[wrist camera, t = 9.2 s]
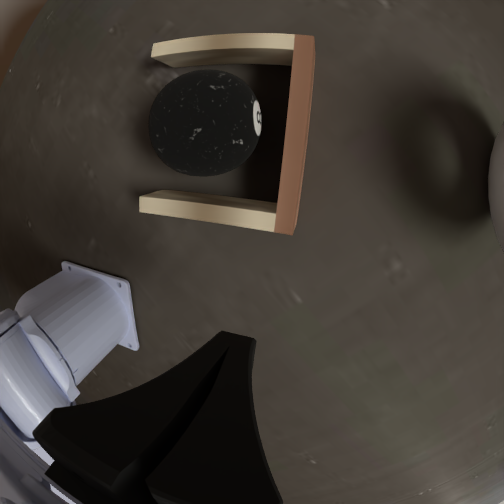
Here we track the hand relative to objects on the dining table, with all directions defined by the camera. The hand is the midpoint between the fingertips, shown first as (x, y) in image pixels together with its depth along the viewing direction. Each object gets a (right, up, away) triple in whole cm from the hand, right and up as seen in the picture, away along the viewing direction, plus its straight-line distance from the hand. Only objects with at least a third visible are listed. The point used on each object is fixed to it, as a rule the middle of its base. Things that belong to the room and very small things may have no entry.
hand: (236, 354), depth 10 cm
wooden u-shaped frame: (-1, +12, +6) cm, 13 cm away
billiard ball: (-1, +12, +7) cm, 14 cm away
